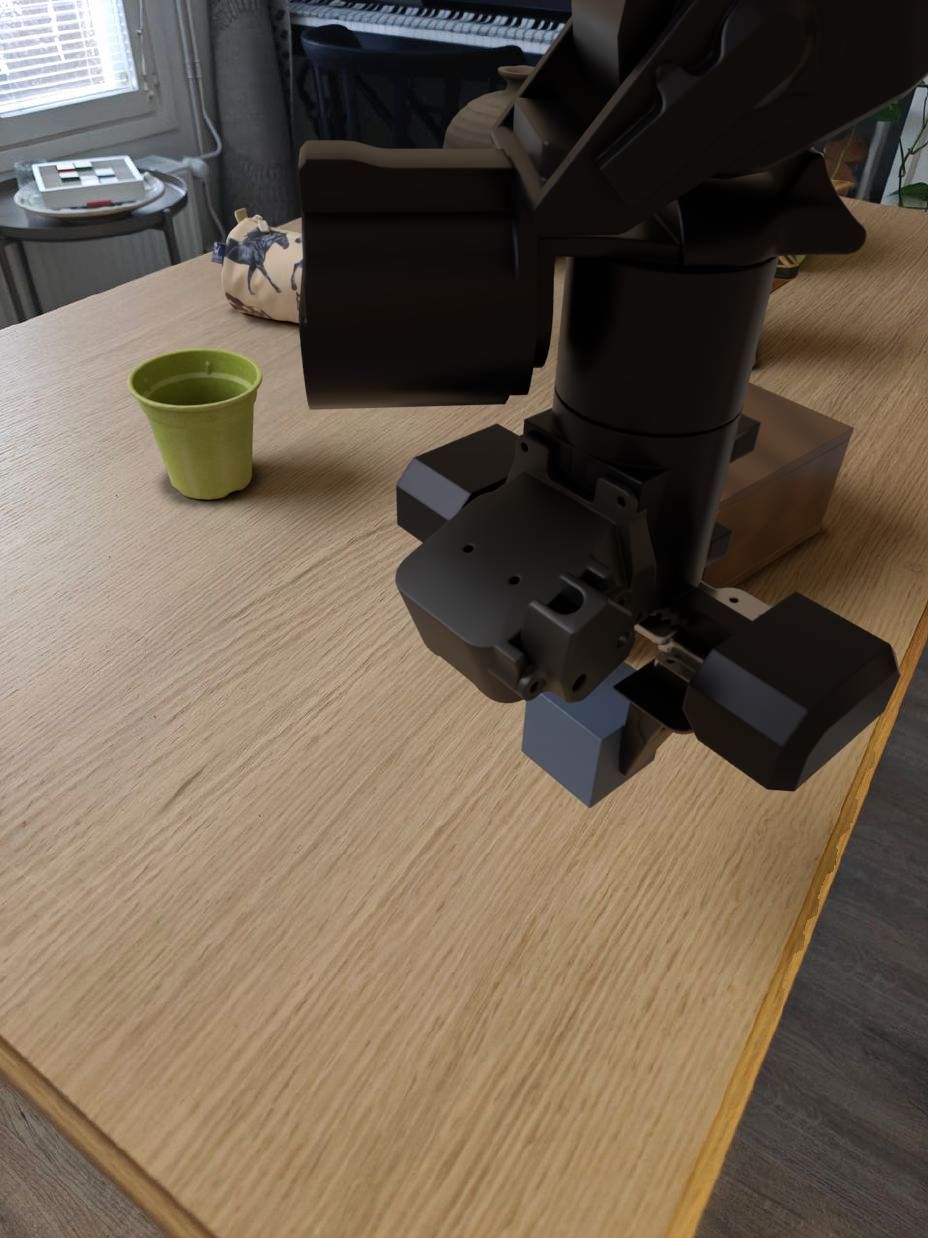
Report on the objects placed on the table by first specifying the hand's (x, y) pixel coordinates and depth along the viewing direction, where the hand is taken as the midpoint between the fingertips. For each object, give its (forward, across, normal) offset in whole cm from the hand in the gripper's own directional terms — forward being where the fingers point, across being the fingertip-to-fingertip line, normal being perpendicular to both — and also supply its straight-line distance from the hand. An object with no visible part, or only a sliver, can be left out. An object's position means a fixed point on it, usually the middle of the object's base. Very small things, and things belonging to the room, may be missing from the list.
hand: (590, 738), depth 38 cm
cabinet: (+10, -15, +29) cm, 34 cm away
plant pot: (+10, -43, +5) cm, 44 cm away
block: (+1, 0, 0) cm, 1 cm away
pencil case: (+10, -62, +29) cm, 69 cm away
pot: (+10, -66, +59) cm, 90 cm away
